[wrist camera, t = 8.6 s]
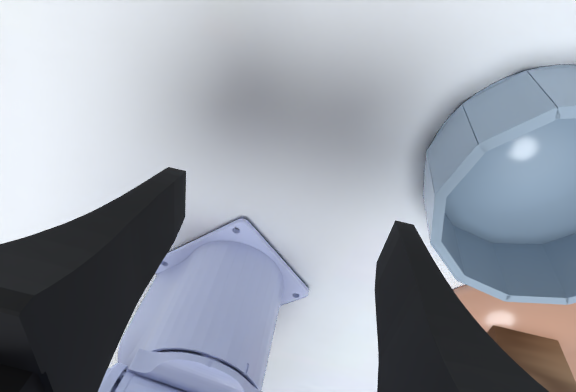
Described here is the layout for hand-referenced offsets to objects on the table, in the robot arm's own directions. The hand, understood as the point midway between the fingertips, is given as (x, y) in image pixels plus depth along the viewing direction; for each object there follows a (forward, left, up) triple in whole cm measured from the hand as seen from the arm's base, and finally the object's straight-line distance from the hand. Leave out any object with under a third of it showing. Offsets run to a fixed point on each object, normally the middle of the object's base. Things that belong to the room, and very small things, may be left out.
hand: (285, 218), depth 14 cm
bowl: (+8, -9, -10) cm, 15 cm away
